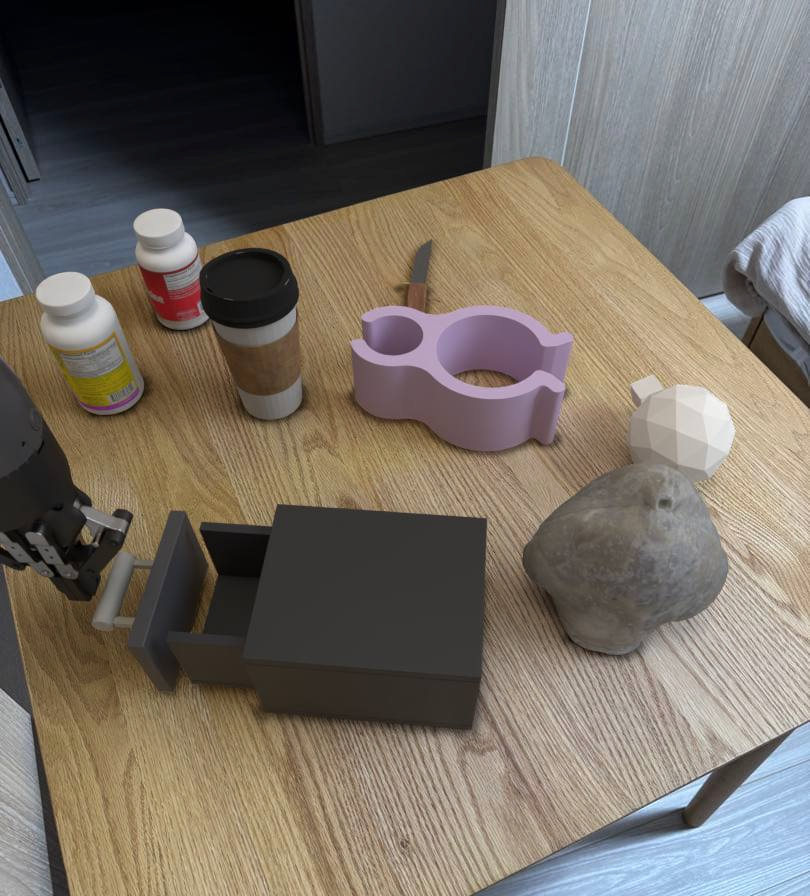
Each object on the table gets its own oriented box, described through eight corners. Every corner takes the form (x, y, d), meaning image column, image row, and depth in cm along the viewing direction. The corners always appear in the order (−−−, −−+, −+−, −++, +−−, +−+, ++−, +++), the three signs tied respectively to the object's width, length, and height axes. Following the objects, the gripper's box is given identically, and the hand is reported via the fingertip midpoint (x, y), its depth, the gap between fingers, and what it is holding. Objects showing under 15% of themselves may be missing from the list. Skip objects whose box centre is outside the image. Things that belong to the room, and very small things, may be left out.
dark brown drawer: (102, 687, 57) (63, 641, 50) (145, 560, 63) (114, 505, 57) (348, 707, 56) (339, 663, 49) (366, 577, 62) (360, 522, 56)
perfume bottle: (753, 483, 66) (688, 400, 74) (755, 411, 59) (683, 328, 67) (660, 522, 67) (605, 436, 75) (650, 456, 60) (591, 369, 68)
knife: (406, 234, 88) (432, 234, 88) (406, 241, 89) (432, 242, 89) (395, 328, 79) (423, 329, 79) (395, 336, 80) (423, 337, 80)
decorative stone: (513, 649, 59) (539, 544, 47) (515, 542, 65) (539, 423, 53) (707, 666, 58) (786, 563, 46) (692, 555, 64) (759, 437, 52)
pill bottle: (151, 304, 83) (119, 212, 74) (205, 289, 85) (180, 197, 76) (164, 338, 80) (132, 247, 71) (220, 322, 81) (195, 231, 72)
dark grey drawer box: (265, 712, 57) (240, 658, 49) (294, 571, 64) (276, 503, 56) (471, 730, 56) (481, 677, 48) (477, 584, 63) (487, 517, 55)
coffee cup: (213, 399, 75) (173, 271, 63) (278, 357, 78) (252, 227, 66) (266, 443, 72) (235, 317, 59) (332, 397, 75) (316, 269, 63)
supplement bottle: (89, 370, 78) (37, 262, 67) (152, 371, 77) (110, 264, 67) (70, 417, 74) (12, 312, 63) (137, 419, 74) (90, 313, 63)
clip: (343, 427, 73) (337, 374, 67) (376, 342, 79) (373, 287, 74) (549, 463, 70) (561, 411, 64) (564, 372, 77) (577, 317, 71)
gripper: (-176, 479, 40) (-19, 628, 55) (62, 495, 39) (157, 642, 54) (-109, 381, 45) (19, 543, 59) (106, 393, 44) (184, 555, 58)
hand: (85, 590), depth 56 cm, fingers closed
